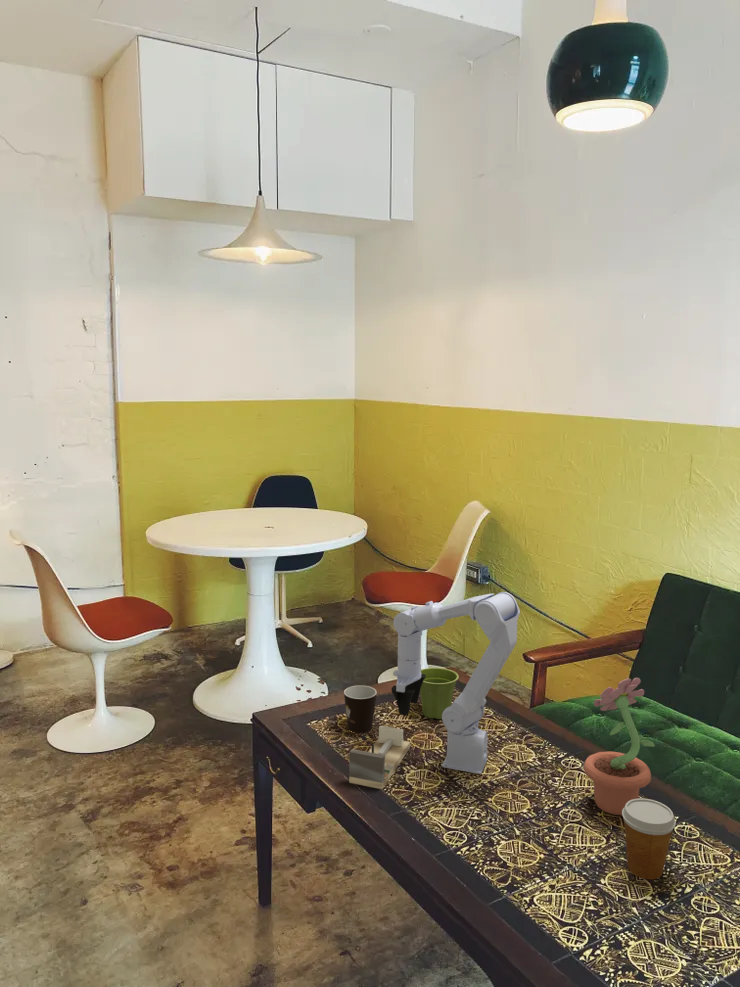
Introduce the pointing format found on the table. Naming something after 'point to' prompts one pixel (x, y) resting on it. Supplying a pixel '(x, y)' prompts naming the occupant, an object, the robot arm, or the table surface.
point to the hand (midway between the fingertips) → (408, 708)
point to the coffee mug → (360, 708)
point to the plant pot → (437, 691)
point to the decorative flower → (618, 755)
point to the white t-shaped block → (389, 738)
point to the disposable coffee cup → (647, 836)
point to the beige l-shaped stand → (375, 764)
